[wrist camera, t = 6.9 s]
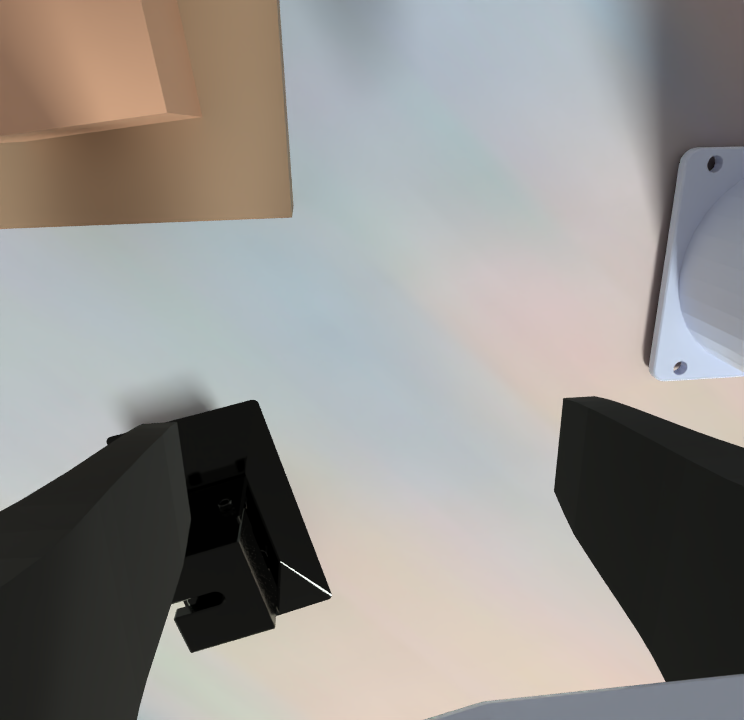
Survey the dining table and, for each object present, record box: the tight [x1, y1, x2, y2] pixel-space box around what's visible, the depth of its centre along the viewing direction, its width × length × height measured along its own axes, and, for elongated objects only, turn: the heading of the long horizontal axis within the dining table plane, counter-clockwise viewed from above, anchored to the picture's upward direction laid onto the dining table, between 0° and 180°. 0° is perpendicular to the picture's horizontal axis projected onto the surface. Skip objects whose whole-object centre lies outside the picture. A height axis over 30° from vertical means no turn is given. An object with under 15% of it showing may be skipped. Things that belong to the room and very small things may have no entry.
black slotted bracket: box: [107, 400, 332, 653], centre depth 22 cm, size 12×7×5 cm, turn 15°
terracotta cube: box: [0, 0, 202, 143], centre depth 13 cm, size 4×4×4 cm
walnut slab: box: [0, 0, 293, 229], centre depth 16 cm, size 9×9×3 cm
